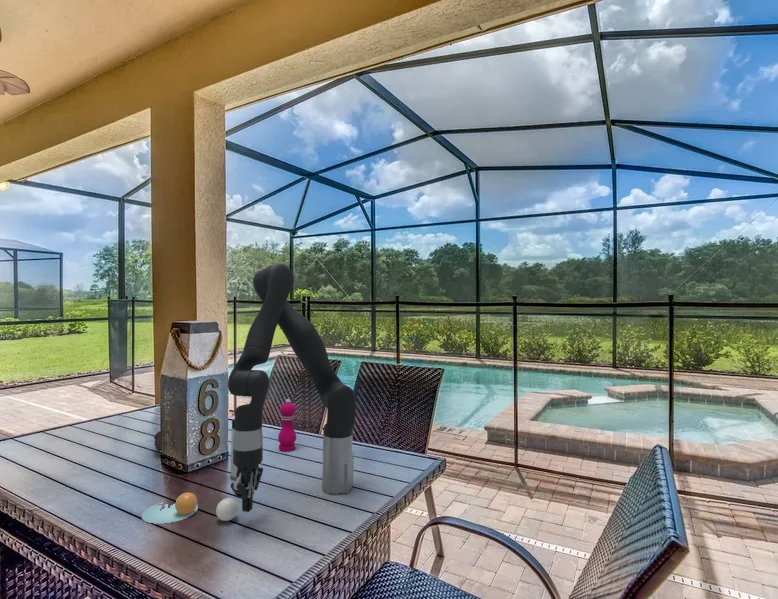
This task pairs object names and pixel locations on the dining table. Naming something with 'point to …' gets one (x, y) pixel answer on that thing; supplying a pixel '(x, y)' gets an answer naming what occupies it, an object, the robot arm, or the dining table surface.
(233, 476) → the travel mug
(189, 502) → the object ball
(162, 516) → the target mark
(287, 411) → the pepper mill
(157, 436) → the pine cone
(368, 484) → the dining table surface
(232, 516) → the cue ball
